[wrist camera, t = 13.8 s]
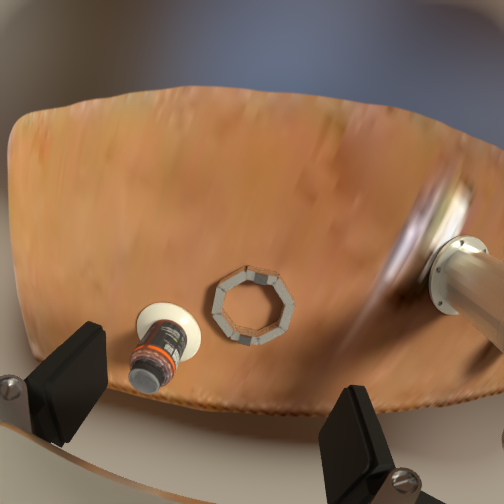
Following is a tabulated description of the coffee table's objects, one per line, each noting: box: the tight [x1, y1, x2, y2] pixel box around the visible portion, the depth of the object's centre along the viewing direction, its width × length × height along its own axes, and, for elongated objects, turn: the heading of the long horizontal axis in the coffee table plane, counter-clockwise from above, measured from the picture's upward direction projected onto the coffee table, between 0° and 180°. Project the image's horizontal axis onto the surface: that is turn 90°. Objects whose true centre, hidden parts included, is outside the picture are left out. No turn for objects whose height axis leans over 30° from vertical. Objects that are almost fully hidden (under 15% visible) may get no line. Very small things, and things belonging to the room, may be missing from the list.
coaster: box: [137, 302, 201, 362], centre depth 41 cm, size 10×10×1 cm
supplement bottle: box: [128, 319, 187, 394], centre depth 36 cm, size 6×6×11 cm
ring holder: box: [212, 265, 295, 346], centre depth 38 cm, size 10×10×3 cm
